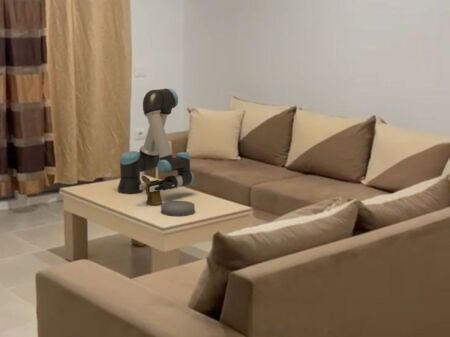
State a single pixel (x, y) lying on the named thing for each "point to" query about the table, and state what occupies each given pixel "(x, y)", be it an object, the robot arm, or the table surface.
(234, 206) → the table surface
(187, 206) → the charcoal plinth
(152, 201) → the wooden mug
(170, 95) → the robot arm
